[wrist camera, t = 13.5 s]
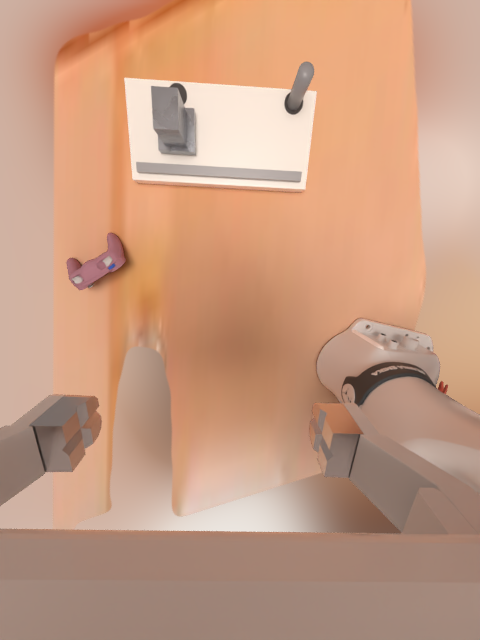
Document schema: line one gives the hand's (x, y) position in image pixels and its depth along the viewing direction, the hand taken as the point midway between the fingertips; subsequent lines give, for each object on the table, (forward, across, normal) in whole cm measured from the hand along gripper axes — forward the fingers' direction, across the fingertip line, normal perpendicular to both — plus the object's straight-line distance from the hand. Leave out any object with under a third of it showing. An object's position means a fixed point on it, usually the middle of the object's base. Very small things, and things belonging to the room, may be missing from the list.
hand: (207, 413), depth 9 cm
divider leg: (+32, -8, +22) cm, 39 cm away
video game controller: (+34, -22, +3) cm, 41 cm away
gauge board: (+34, -2, +21) cm, 40 cm away
